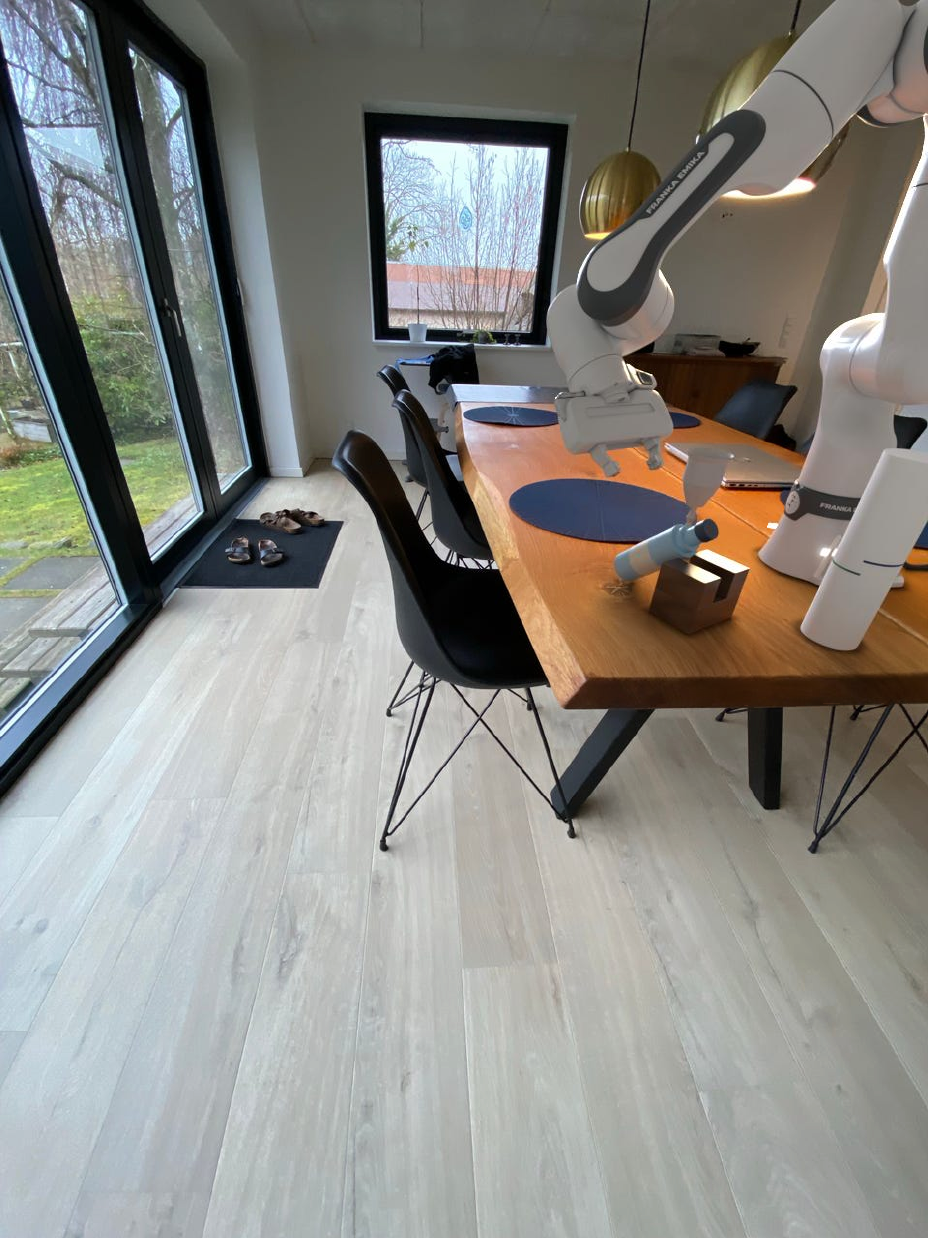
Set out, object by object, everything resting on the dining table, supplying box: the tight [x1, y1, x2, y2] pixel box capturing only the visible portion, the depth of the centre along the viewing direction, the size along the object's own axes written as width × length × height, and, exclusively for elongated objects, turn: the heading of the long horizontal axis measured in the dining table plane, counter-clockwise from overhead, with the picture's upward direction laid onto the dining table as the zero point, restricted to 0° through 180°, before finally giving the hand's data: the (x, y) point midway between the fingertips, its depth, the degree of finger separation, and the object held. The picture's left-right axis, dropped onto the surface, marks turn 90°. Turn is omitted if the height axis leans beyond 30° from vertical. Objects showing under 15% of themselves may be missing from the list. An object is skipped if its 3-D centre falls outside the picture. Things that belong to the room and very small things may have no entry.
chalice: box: [681, 446, 734, 559], centre depth 91 cm, size 7×7×18 cm
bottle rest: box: [648, 549, 751, 635], centre depth 74 cm, size 7×10×8 cm
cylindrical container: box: [800, 447, 928, 651], centre depth 67 cm, size 7×7×25 cm
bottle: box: [613, 517, 720, 583], centre depth 78 cm, size 14×5×14 cm, turn 32°
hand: (636, 471), depth 78 cm, fingers open, 8 cm apart
